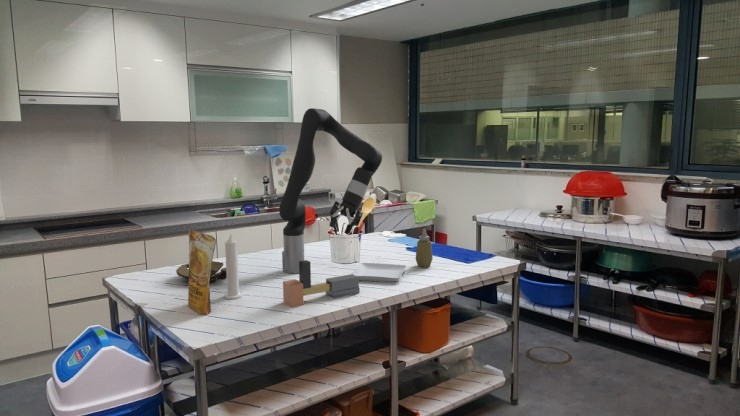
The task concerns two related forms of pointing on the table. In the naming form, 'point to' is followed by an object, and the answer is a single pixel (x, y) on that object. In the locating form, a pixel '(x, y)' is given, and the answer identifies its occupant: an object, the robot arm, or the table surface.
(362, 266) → the salad plate
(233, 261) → the candle
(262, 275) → the table surface
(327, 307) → the table surface
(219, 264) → the oil lamp
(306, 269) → the bolt
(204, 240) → the pancake mix bag
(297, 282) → the orange brown block
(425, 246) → the squeeze bottle
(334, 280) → the sleeve
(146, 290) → the table surface
